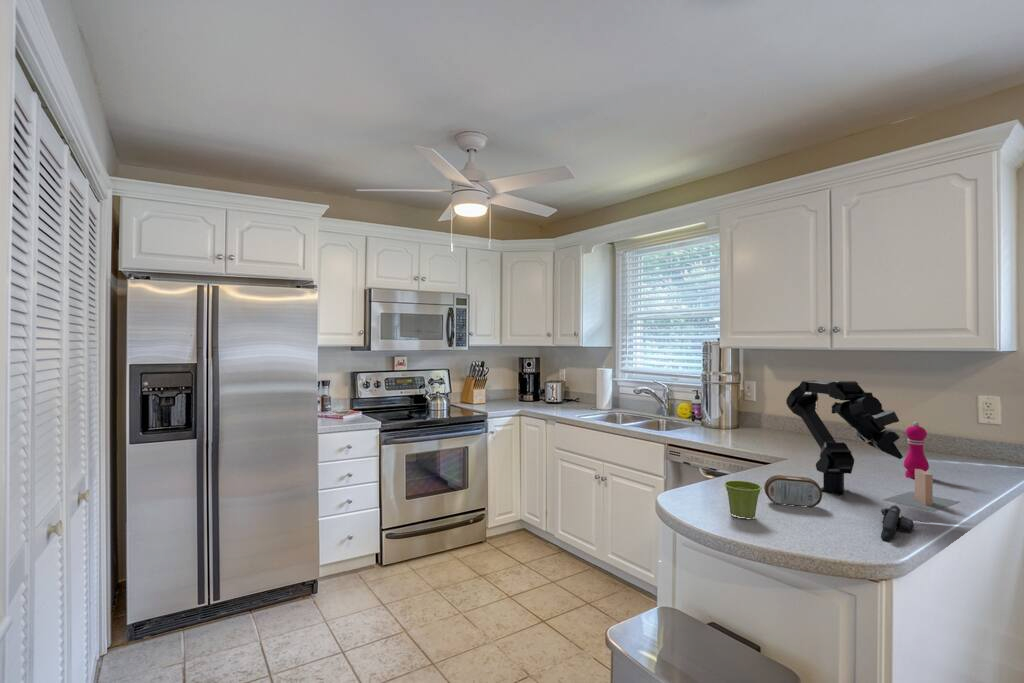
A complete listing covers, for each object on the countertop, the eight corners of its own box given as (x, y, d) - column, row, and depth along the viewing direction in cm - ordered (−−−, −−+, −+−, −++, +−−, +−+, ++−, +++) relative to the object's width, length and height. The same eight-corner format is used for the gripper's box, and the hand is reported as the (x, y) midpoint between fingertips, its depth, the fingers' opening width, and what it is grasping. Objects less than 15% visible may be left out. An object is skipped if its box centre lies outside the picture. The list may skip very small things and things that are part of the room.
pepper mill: (925, 476, 190) (925, 421, 191) (931, 480, 184) (931, 423, 184) (901, 474, 193) (901, 419, 194) (906, 478, 187) (906, 422, 187)
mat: (933, 513, 148) (933, 511, 148) (882, 501, 159) (882, 499, 159) (960, 503, 157) (960, 501, 157) (909, 493, 168) (909, 491, 168)
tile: (925, 505, 153) (925, 474, 153) (914, 498, 160) (914, 468, 160) (932, 505, 153) (932, 474, 153) (921, 499, 159) (921, 469, 160)
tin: (820, 506, 154) (820, 477, 154) (823, 509, 151) (823, 480, 151) (764, 501, 159) (764, 473, 159) (765, 504, 156) (765, 475, 156)
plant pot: (769, 518, 142) (769, 486, 142) (746, 524, 138) (746, 491, 138) (739, 509, 151) (739, 479, 151) (716, 514, 146) (717, 483, 146)
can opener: (883, 522, 141) (883, 501, 141) (916, 528, 136) (916, 506, 136) (867, 538, 129) (867, 515, 129) (902, 546, 124) (902, 522, 124)
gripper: (891, 404, 151) (936, 444, 148) (868, 397, 169) (908, 434, 166) (859, 430, 153) (904, 470, 150) (840, 421, 171) (879, 457, 168)
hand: (899, 457), depth 158 cm, fingers open, 3 cm apart
